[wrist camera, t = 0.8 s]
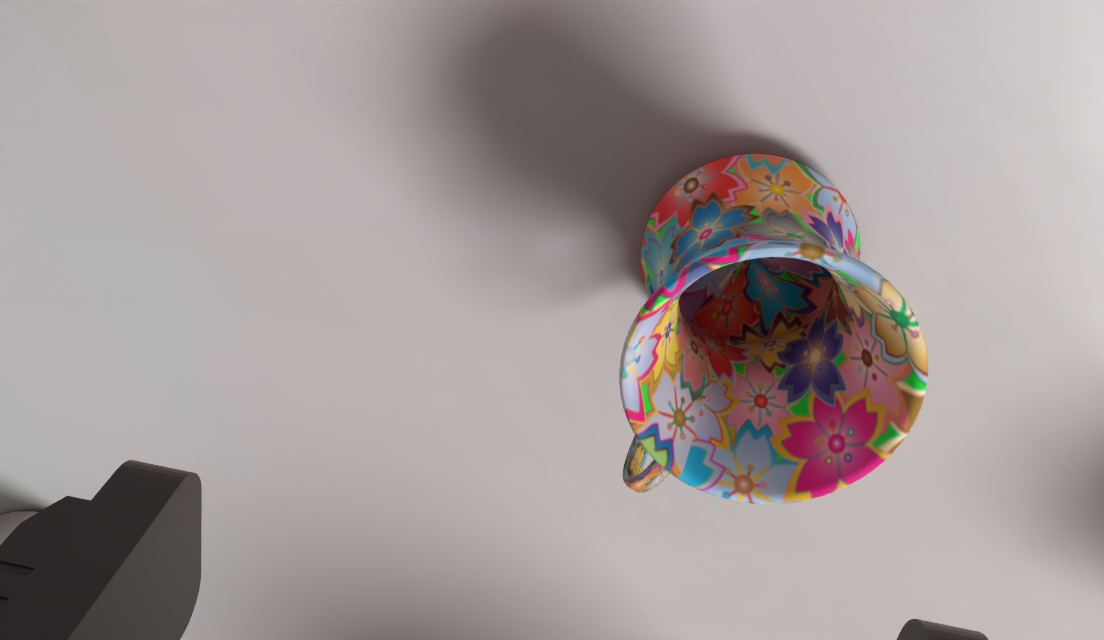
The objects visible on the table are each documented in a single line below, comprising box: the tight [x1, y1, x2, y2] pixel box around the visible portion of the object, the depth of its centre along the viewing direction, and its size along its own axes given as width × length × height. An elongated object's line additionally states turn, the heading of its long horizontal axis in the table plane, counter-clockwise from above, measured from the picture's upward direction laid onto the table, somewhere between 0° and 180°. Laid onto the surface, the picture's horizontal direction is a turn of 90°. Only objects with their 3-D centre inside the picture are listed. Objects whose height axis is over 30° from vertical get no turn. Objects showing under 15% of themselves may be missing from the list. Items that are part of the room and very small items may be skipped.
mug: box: [619, 154, 928, 504], centre depth 35 cm, size 12×9×11 cm
